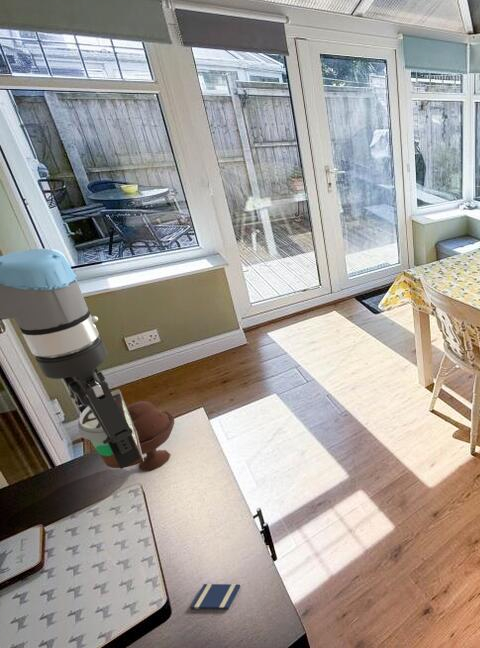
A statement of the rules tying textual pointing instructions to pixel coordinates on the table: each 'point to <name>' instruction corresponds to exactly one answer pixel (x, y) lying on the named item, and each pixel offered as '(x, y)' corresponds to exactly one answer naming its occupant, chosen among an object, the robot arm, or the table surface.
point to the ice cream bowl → (151, 432)
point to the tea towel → (215, 596)
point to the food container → (96, 435)
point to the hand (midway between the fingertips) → (115, 446)
